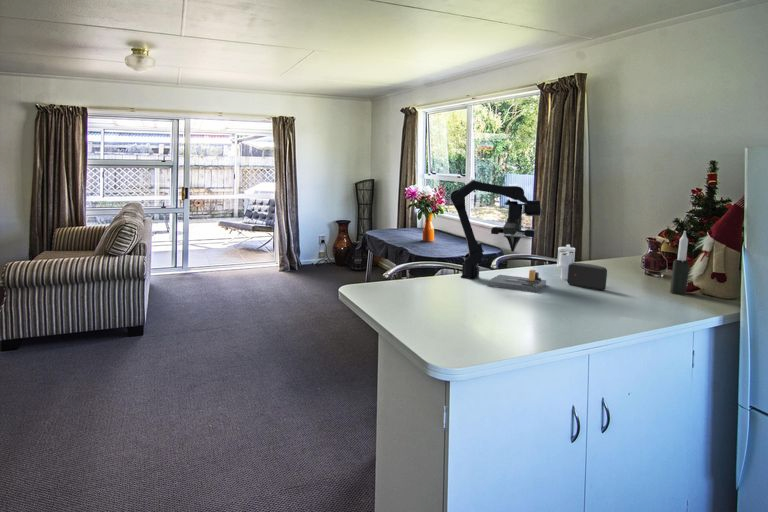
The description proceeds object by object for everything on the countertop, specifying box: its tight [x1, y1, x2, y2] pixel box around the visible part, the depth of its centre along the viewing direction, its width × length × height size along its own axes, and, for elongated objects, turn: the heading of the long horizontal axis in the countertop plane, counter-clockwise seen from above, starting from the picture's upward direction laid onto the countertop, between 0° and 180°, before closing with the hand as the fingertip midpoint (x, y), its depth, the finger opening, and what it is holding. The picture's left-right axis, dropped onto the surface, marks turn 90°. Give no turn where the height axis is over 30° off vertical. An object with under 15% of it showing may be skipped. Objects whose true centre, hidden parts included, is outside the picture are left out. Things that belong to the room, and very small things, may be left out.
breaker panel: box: [486, 271, 547, 293], centre depth 220 cm, size 20×16×5 cm
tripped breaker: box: [526, 269, 538, 283], centre depth 216 cm, size 4×3×5 cm
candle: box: [669, 230, 690, 295], centre depth 210 cm, size 5×5×25 cm
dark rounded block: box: [566, 262, 608, 291], centre depth 219 cm, size 16×5×9 cm, turn 44°
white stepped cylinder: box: [556, 244, 576, 281], centre depth 233 cm, size 7×7×15 cm
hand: (512, 251), depth 231 cm, fingers closed
